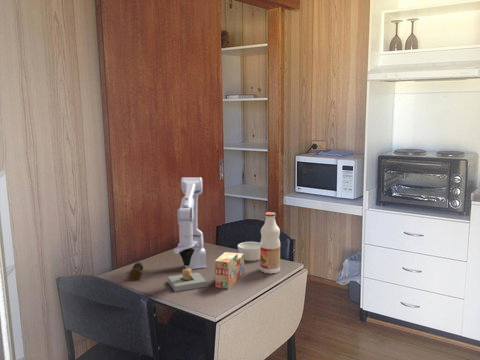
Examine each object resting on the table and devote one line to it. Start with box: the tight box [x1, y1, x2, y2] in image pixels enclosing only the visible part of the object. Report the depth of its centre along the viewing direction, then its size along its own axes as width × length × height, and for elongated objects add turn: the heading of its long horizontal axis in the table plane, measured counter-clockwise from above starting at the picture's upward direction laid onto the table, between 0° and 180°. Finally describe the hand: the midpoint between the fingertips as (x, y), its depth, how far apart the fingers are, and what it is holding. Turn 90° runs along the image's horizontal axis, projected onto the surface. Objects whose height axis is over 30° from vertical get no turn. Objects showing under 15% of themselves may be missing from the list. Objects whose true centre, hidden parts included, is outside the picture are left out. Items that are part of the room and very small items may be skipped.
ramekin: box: [237, 241, 260, 262], centre depth 225 cm, size 13×13×7 cm
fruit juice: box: [259, 211, 281, 275], centre depth 204 cm, size 9×9×28 cm
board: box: [167, 272, 208, 293], centre depth 190 cm, size 14×12×2 cm
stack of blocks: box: [214, 251, 245, 290], centre depth 194 cm, size 21×6×12 cm, turn 161°
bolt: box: [129, 261, 144, 281], centre depth 202 cm, size 6×5×15 cm
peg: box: [181, 267, 192, 282], centre depth 190 cm, size 4×4×6 cm
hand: (186, 265), depth 189 cm, fingers closed
